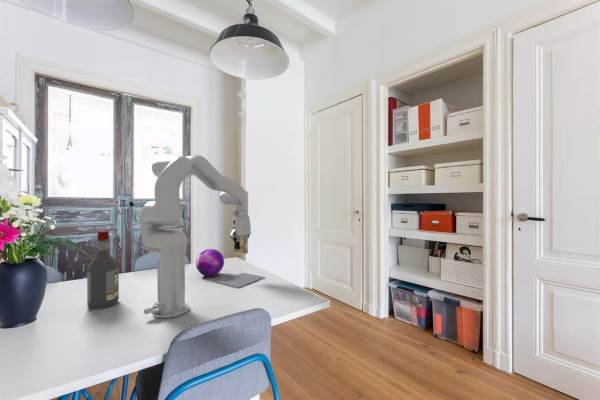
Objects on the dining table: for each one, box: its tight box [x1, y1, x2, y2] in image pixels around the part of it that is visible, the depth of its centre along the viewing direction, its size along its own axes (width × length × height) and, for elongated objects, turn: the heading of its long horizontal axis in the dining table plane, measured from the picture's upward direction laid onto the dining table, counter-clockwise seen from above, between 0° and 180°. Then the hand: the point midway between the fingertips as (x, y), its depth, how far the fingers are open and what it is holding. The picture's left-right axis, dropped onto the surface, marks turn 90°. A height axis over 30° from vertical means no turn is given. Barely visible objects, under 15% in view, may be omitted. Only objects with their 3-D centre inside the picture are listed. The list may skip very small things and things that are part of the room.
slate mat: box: [215, 272, 266, 289], centre depth 143 cm, size 20×16×1 cm
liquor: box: [86, 230, 120, 310], centre depth 110 cm, size 9×9×30 cm
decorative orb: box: [195, 248, 225, 277], centre depth 152 cm, size 15×15×15 cm
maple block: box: [233, 235, 249, 256], centre depth 143 cm, size 5×5×10 cm
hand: (241, 247), depth 143 cm, fingers closed on maple block, 5 cm apart
